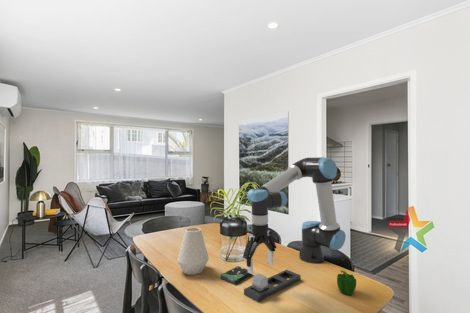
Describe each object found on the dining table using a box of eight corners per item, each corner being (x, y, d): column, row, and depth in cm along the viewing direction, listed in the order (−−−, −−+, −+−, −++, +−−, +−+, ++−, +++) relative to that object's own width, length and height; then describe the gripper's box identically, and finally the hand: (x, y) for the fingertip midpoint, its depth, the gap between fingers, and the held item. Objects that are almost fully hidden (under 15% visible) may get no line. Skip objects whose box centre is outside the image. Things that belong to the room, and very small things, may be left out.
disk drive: (237, 270, 147) (219, 280, 136) (237, 265, 147) (220, 274, 136) (252, 276, 141) (235, 286, 129) (252, 270, 141) (235, 280, 129)
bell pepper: (358, 292, 123) (358, 270, 123) (353, 299, 117) (353, 276, 117) (340, 286, 129) (340, 266, 129) (334, 292, 122) (334, 271, 122)
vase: (213, 266, 152) (213, 226, 152) (201, 279, 135) (201, 235, 135) (185, 262, 157) (186, 224, 157) (171, 275, 140) (171, 232, 140)
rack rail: (286, 274, 142) (286, 269, 142) (300, 280, 135) (300, 275, 135) (243, 294, 120) (243, 289, 120) (257, 302, 114) (257, 296, 114)
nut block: (259, 290, 125) (259, 273, 125) (267, 294, 121) (267, 276, 121) (252, 293, 121) (252, 276, 121) (260, 298, 117) (260, 280, 118)
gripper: (271, 217, 132) (271, 258, 132) (234, 226, 116) (235, 274, 116) (283, 219, 127) (283, 263, 127) (246, 230, 110) (247, 280, 110)
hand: (260, 268), depth 121 cm, fingers open, 13 cm apart
